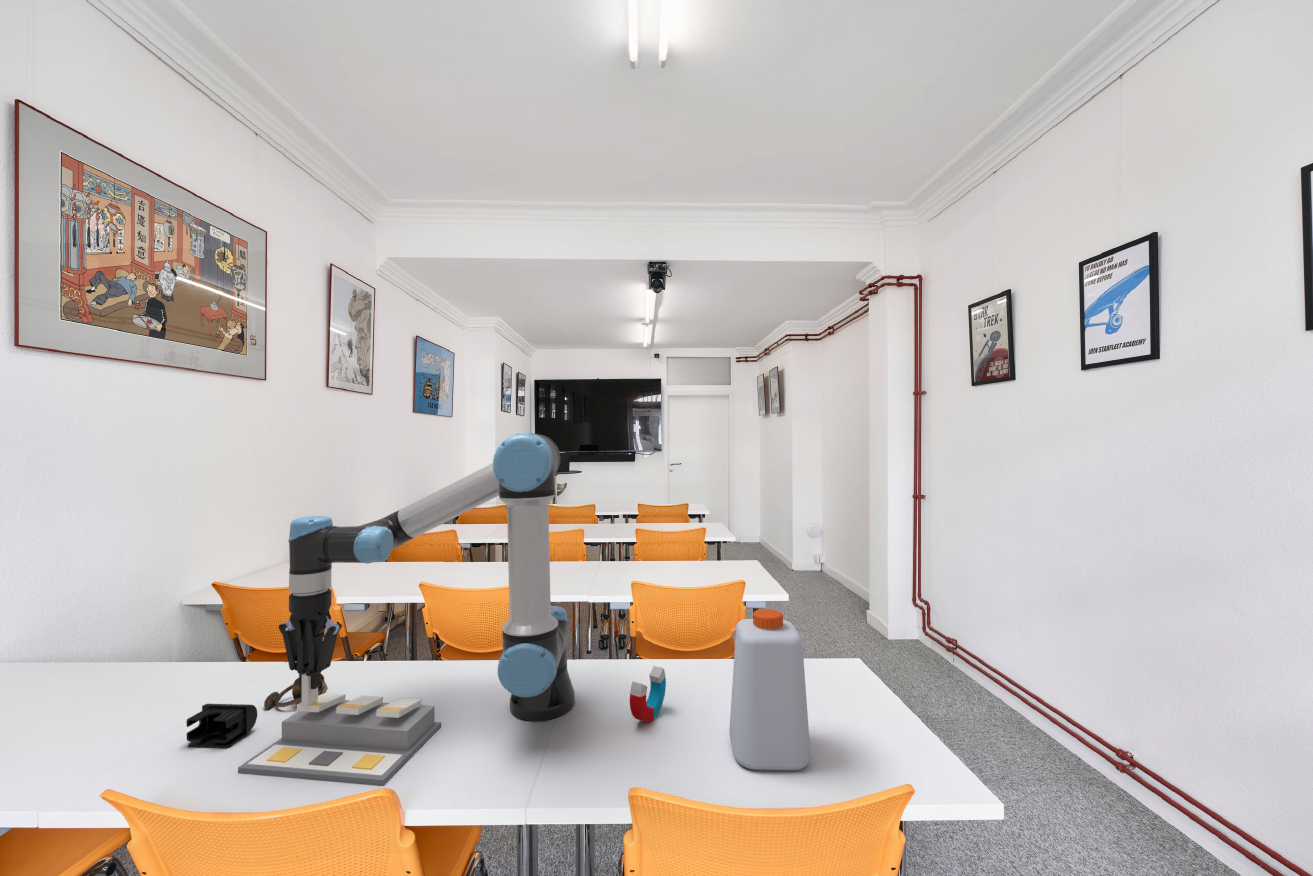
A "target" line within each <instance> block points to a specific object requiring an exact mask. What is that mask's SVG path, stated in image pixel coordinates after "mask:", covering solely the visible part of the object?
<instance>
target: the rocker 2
mask: <svg viewBox="0 0 1313 876" xmlns="http://www.w3.org/2000/svg"><path fill="white" fill-rule="evenodd" d="M388 703H389V704H387V705H385V706H382V707H380V708H378V709H377V711H376V716H381V717H395V718H399V717H401V716H403V715H404V714H406V713H408V712H410V711H411V710H413V709H415V708H417V707H418V706H420V705H422V699H421V698H411V697H410V698H406V697H405V698H404V697H399V698H397V699H396V700H394V701H391V702H388Z"/></svg>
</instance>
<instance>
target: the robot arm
mask: <svg viewBox="0 0 1313 876" xmlns="http://www.w3.org/2000/svg"><path fill="white" fill-rule="evenodd" d="M560 464H561V455H560V450H559V448H558V446H557V444H556V443H555V442H554V441H553V440H552V439H551V438H550V437H548V436H546V435H544V434H541V433H540V434H539V433H531V432H529V433H528V432H522V433H515V434H513V435H511V436H509V437H508V438H506V439H504V440H503V441H502V442H501V443H500V444H499V445H498V447H497V448H496V450H495V453H494V455H493V458H492V463H490V464H488V465H486V466H484V467H483V468H480V469H478V470H476V471H474V472H472V473H470V474H468V475H466V476H465V477H462V478H460V479H457V480H456V481H455V482H452V483H451V484H449V485H446V486H445V487H443V488H440V489H438V490H437V491H435V492H432V493H430V494H429V495H426V496H424V497H422V498H421V499H418V500H416V501H415V502H412V503H410V504H408V505H406V506H405V507H402V508H400V509H399V510H396V511H394V512H392V513H390V514H388V515H386V516H384V517H382V518H380V519H376V520H374V521H371V522H368V523H364V524H361V525H357V526H356V525H355V526H353V525H352V526H338V525H337V526H336V525H334V524H333V519H332V518H331V517H330V516H329V515H309V516H301V517H297V518H295V519H292V521H291V522H290V525H289V535H288V536H289V538H288V544H289V545H288V546H289V547H288V549H289V552H288V553H289V572H288V592H289V593H290V594H289V595H288V612H289V613H290V615H289V619H288V620H287V621H285V622H284V623H281V624H279V625H278V630H279V632H280V633H281V635H282V637H283V644H284V648H285V652H286V657H287V662H288V667H289V670H291V671H296V672H297V674H298V678H299V687H300V688H302V706H304V707H308V706H310V705H311V704H313V703H315V702H316V701H318V687H319V686H320V685H321V674H322V672H323V671H324V670H327V669H328V668H330V667H331V664H332V660H333V655H334V652H335V646H336V643H337V637H338V634H339V632H340V631H341V629H342V627H343V625H342V623H340V622H339V623H338V622H337V623H336V622H334V621H333V620H332V615H331V612H330V609H331V606H332V595H333V594H332V589H330V588H331V586H332V566H333V564H336V563H344V564H345V563H347V564H348V563H351V564H352V563H354V564H359V563H360V564H361V563H362V564H372V563H382V562H385V561H387V560H388V558H389V557H390V555H391V554H392V552H393V550H394V549H396V548H398V547H400V546H403V545H405V544H406V543H407V542H409V541H411V540H413V539H414V538H417V537H419V536H421V535H423V534H425V533H427V532H429V531H431V530H434V529H435V528H437V527H438V526H441V525H443V524H445V523H447V522H450V521H451V520H453V519H455V518H457V517H459V516H461V515H462V514H465V513H467V512H469V511H471V510H473V509H475V508H476V507H479V506H481V505H483V504H484V503H487V502H489V501H491V500H494V499H495V498H497V497H499V500H500V501H502V502H503V503H504V504H505V506H506V513H507V514H506V515H507V516H506V517H507V523H506V524H507V557H508V558H507V561H508V566H507V567H508V569H507V570H508V602H509V603H508V606H509V607H508V609H509V612H508V613H509V618H508V620H506V622H505V623H504V624H503V625H502V629H501V631H502V634H501V635H502V654H501V655H500V658H499V660H498V664H497V677H498V680H499V683H500V684H501V686H502V687H503V688H504V690H507V692H509V693H510V694H511V695H510V697H509V711H510V712H511V714H512V715H513V716H514V717H516V718H518V719H520V720H524V721H530V722H537V721H538V722H540V721H549V720H551V719H555V718H559V717H561V716H563V715H565V714H567V713H568V712H569V711H570V710H572V709H573V708H574V706H575V702H576V701H575V700H576V699H575V696H576V695H575V693H576V692H575V690H574V686H573V683H572V679H571V677H570V675H569V671H568V622H569V619H568V614H567V610H566V608H564V607H561V606H557V605H551V569H550V567H551V562H550V531H549V530H550V525H549V524H550V520H549V519H550V517H549V504H550V502H551V501H552V500H553V499H554V498H555V497H556V474H557V472H558V470H559V467H560Z"/></svg>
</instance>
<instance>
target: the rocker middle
mask: <svg viewBox="0 0 1313 876" xmlns="http://www.w3.org/2000/svg"><path fill="white" fill-rule="evenodd" d="M350 700H351V701H349V702H347V703H344V704H341V705H339V706H338V707H336V713H338V714H352V715H359V714H361V713H363V712H365V711H367V710H369V709H371V708H373V707H375V706H377V705H379V704H381V703H384V696H379V695H377V696H375V695H360V696H359V697H358V696H357V697H355V698H353V699H350Z"/></svg>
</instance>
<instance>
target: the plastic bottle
mask: <svg viewBox="0 0 1313 876" xmlns="http://www.w3.org/2000/svg"><path fill="white" fill-rule="evenodd" d="M752 613H753V614H752V618H746V619H745V618H744V619H741V620H740V621H738V622H737V623H736V625H735V637H734V639H735V640H734V655H733V669H732V671H733V672H732V685H731V700H730V712H729V713H730V716H729V728H728V730H729V731H728V733H729V734H728V735H729V738H730V745H731V749H732V754H733V757H734V760H736V762H737V763H738V764H739V765H740V766H743V767H744V768H745V769H749V770H754V771H793V772H794V771H800V770H802V769H804V768H806V767H807V766H808V765H809V764H810V762H811V757H812V756H811V741H810V729H809V717H808V716H809V715H808V714H809V713H808V712H809V711H808V703H807V702H808V701H807V699H808V698H807V689H806V688H807V687H806V675H805V671H806V670H805V661H804V647H803V639H802V637H801V635H800V633H799V632H798V630H797V629H796V627H795V626H794V624H793V623H792V622H790V620H785V619H784V614H783V613H782V612H781V611H779V610H776V609H772V608H771V609H770V608H759V609H756V610H755V611H753V612H752Z"/></svg>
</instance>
